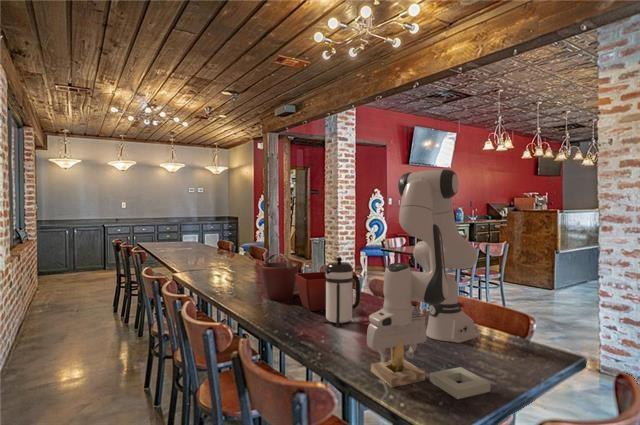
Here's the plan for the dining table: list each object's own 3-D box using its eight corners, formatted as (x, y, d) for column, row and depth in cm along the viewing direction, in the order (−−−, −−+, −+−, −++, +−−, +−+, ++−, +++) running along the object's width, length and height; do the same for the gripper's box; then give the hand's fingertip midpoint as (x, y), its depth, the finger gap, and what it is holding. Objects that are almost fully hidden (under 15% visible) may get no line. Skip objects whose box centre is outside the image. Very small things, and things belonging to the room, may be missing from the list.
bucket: (256, 293, 237) (256, 252, 236) (290, 290, 246) (290, 250, 246) (268, 303, 215) (268, 257, 214) (305, 299, 224) (305, 255, 223)
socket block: (460, 374, 124) (460, 366, 124) (490, 391, 113) (490, 382, 113) (429, 381, 120) (429, 373, 120) (457, 399, 109) (457, 390, 108)
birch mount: (402, 365, 131) (402, 358, 131) (424, 380, 120) (424, 372, 120) (370, 371, 127) (370, 363, 127) (391, 387, 116) (391, 379, 116)
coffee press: (356, 329, 170) (356, 259, 169) (319, 326, 173) (319, 258, 173) (360, 317, 187) (360, 254, 186) (327, 315, 190) (327, 253, 190)
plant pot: (341, 310, 201) (342, 277, 200) (306, 313, 194) (306, 279, 193) (327, 301, 218) (327, 271, 218) (294, 304, 211) (294, 273, 211)
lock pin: (399, 372, 126) (399, 335, 126) (406, 377, 122) (406, 339, 122) (388, 374, 125) (388, 336, 124) (395, 379, 121) (395, 340, 121)
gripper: (418, 309, 130) (418, 351, 130) (364, 316, 122) (364, 360, 122) (431, 314, 124) (430, 358, 124) (374, 322, 116) (374, 368, 117)
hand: (397, 359), depth 123 cm, fingers open, 8 cm apart
